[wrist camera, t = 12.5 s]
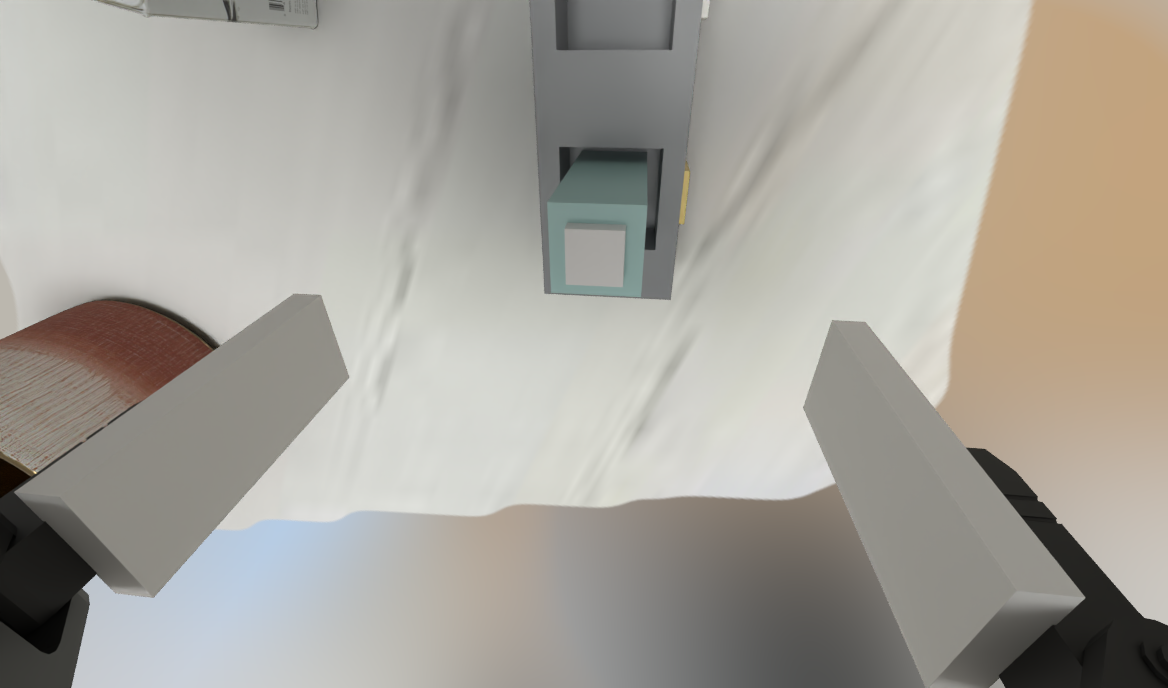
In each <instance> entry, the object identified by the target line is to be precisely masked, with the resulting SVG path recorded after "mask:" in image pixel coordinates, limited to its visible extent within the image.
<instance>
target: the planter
mask: <svg viewBox="0 0 1168 688" xmlns="http://www.w3.org/2000/svg"><path fill="white" fill-rule="evenodd" d="M213 351H214V349H213V348H212V347H211V346H210V345H209V344H207V343H206V342H205V341H204V340H203V339H202V338H200V337H199V336H198V335H196V334H195V333H194V332H192V331H191V330H189V329H188V328H186V327H184V326H183V325H181V324H179V323H178V322H176V321H174V320H173V319H171V318H169V317H167V316H164V315H162V314H160V313H157V312H155V311H152V310H150V309H147V308H144V307H141V306H138V305H134V304H130V303H126V302H120V301H111V300H100V301H92V302H87V303H84V304H81V305H78V306H75V307H73V308H70V309H68V310H65V311H63V312H60V313H58V314H56V315H53V316H51V317H49V318H47V319H45V320H42V321H40V322H38V323H36V324H34V325H31V326H29V327H27V328H25V329H23V330H20V331H18V332H16V333H14V334H12V335H10V336H7V337H5V338H3V339H1V340H0V498H2V497H3V496H5V495H6V494H7V493H9V492H10V491H12V490H13V489H14V488H16V487H17V486H19V485H20V484H22V483H23V482H24V481H26V480H27V479H29V478H30V477H32V476H33V475H34V474H36V473H37V472H39V471H40V470H41V469H43V468H44V467H46V466H47V465H49V464H50V463H51V462H53V461H54V460H56V459H57V458H59V457H60V456H61V455H63V454H64V453H66V452H67V451H68V450H70V449H71V448H73V447H74V446H76V445H77V444H78V443H80V442H85V441H86V438H87V437H88V436H90V435H91V434H93V433H94V432H96V431H97V430H98V429H100V428H101V427H107V425H108V424H107V423H108V422H110V421H111V420H113V419H114V418H115V417H117V416H118V415H120V414H121V413H123V412H124V411H125V410H127V409H128V408H130V407H131V406H133V405H135V404H137V403H139V402H141V401H143V400H145V399H146V398H148V397H149V396H150V395H152V394H153V393H155V392H156V391H157V390H159V389H160V388H162V387H163V386H165V385H166V384H167V383H169V382H170V381H172V380H173V379H174V378H176V377H177V376H179V375H180V374H181V373H183V372H184V371H186V370H187V369H189V368H190V367H191V366H193V365H194V364H196V363H197V362H198V361H200V360H201V359H203V358H204V357H205V356H207V355H208V354H210V353H211V352H213Z"/></svg>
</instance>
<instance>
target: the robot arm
mask: <svg viewBox="0 0 1168 688" xmlns="http://www.w3.org/2000/svg"><path fill="white" fill-rule="evenodd" d="M348 378H349V375H348V372H347V369H346V366H345V363H344V360H343V358H342V355H341V352H340V349H339V346H338V343H337V340H336V337H335V334H334V332H333V329H332V326H331V323H330V320H329V317H328V314H327V311H326V309H325V306H324V303H323V300H322V297H321V295H310V294H293V295H292V296H290V297H289V298H287V299H286V300H285V301H283V302H282V303H280V304H279V305H277V306H276V307H275V308H273V309H272V310H270V311H269V312H268V313H266V314H265V315H263V316H262V317H261V318H259V319H258V320H256V321H255V322H253V323H252V324H251V325H249V326H248V327H246V328H245V329H244V330H242V331H241V332H239V333H238V334H237V335H235V336H234V337H232V338H231V339H229V340H228V341H227V342H225V343H224V344H222V345H221V346H220V347H218V348H217V349H215V350H214V351H213V352H211V353H210V354H208V355H207V356H205V357H204V358H203V359H201V360H200V361H198V362H197V363H196V364H194V365H193V366H191V367H190V368H189V369H187V370H186V371H184V372H183V373H181V374H180V375H179V376H177V377H176V378H174V379H173V380H172V381H170V382H169V383H167V384H166V385H165V386H163V387H162V388H160V389H159V390H157V391H156V392H155V393H153V394H152V395H150V396H149V397H148V398H146V399H145V400H143V401H141V402H139V403H137V404H135V405H133V406H131V407H130V408H128V409H127V410H125V411H124V412H123V413H121V414H120V415H118V416H117V417H115V418H114V419H113V420H111V421H110V422H108V423H107V424H108V425H107V427H101V428H100V429H98V430H97V431H96V432H94V433H93V434H91V435H90V436H88V437H87V438H86V441H85V442H80V443H78V444H77V445H76V446H74V447H73V448H71V449H70V450H68V451H67V452H66V453H64V454H63V455H61V456H60V457H59V458H57V459H56V460H54V461H53V462H51V463H50V464H49V465H47V466H46V467H44V468H43V469H41V470H40V471H39V472H37V473H36V474H34V475H33V476H32V477H30V478H29V479H27V480H26V481H24V482H23V483H22V484H20V485H19V486H17V487H16V488H14V489H13V490H12V491H10V492H9V493H7V494H6V495H5V496H3V497H2V498H0V688H71V686H72V681H73V677H74V672H75V668H76V664H77V659H78V654H79V650H80V646H81V641H82V636H83V632H84V627H85V623H86V618H87V614H88V610H89V605H90V603H89V595H88V594H87V593H86V592H85V591H84V590H83V589H82V588H83V587H84V586H85V585H86V584H87V583H88V582H89V581H90V580H91V579H92V578H93V577H94V576H95V575H96V574H97V575H98V576H99V577H100V578H101V579H102V580H103V581H104V582H105V583H106V584H107V585H108V586H109V587H110V588H111V589H112V590H113V591H114V592H115V593H118V594H127V595H135V596H143V597H151V598H154V597H155V595H156V594H157V593H158V592H159V591H160V590H161V589H162V588H163V587H164V585H165V584H166V583H167V582H168V581H169V580H170V579H171V578H172V576H173V575H174V574H175V573H176V572H177V571H178V570H179V569H180V567H181V566H182V565H183V564H184V563H185V562H186V561H187V559H188V558H189V557H190V556H191V555H192V554H193V553H194V552H195V551H196V549H197V548H198V547H199V546H200V545H201V544H202V542H203V541H204V540H205V539H206V538H207V537H208V536H209V535H210V534H211V533H212V531H213V530H214V529H215V528H216V527H217V526H218V525H219V524H220V522H221V521H222V520H223V519H224V518H225V517H226V516H227V515H228V513H229V512H230V511H231V510H232V509H233V508H234V507H235V506H236V504H237V503H238V502H239V501H240V500H241V499H242V498H243V497H244V495H245V494H246V493H247V492H248V491H249V490H250V489H251V488H252V486H253V485H254V484H255V483H256V482H257V481H258V480H259V479H260V477H261V476H262V475H263V474H264V473H265V472H266V471H267V470H268V468H269V467H270V466H271V465H272V464H273V463H274V462H275V461H276V459H277V458H278V457H279V456H280V455H281V454H282V453H283V452H284V450H285V449H286V448H287V447H288V446H289V445H290V444H291V443H292V441H293V440H294V439H295V438H296V437H297V436H298V435H299V434H300V432H301V431H302V430H303V429H304V428H305V427H306V426H307V425H308V423H309V422H310V421H311V420H312V419H313V418H314V417H315V416H316V414H317V413H318V412H319V411H320V410H321V409H322V408H323V407H324V405H325V404H326V403H327V402H328V401H329V400H330V399H331V398H332V396H333V395H334V394H335V393H336V392H337V391H338V390H339V389H340V387H341V386H342V385H343V384H344V383H345V382H346V381H347V380H348ZM803 408H804V411H805V413H806V415H807V418H808V420H809V422H810V424H811V427H812V429H813V431H814V434H815V436H816V438H817V440H818V443H819V445H820V447H821V450H822V452H823V454H824V456H825V459H826V461H827V463H828V466H829V468H830V470H831V472H832V475H833V477H834V479H835V482H836V484H837V486H838V488H839V491H840V493H841V495H842V498H843V500H844V502H845V504H846V507H847V509H848V511H849V514H850V516H851V518H852V520H853V523H854V525H855V527H856V530H857V532H858V534H859V536H860V539H861V541H862V543H863V546H864V548H865V550H866V552H867V554H868V557H869V559H870V562H871V564H872V566H873V568H874V571H875V573H876V575H877V578H878V580H879V582H880V584H881V587H882V589H883V591H884V594H885V596H886V598H887V600H888V603H889V605H890V607H891V610H892V612H893V614H894V616H895V619H896V621H897V623H898V625H899V628H900V630H901V632H902V635H903V637H904V639H905V641H906V643H907V646H908V648H909V650H910V653H911V655H912V657H913V660H914V662H915V664H916V667H917V669H918V671H919V673H920V676H921V678H922V680H923V683H924V685H925V687H926V688H989V687H990V686H991V685H992V684H993V683H995V682H996V681H997V680H998V679H999V678H1000V679H1001V681H1002V682H1003V684H1004V686H1005V688H1168V625H1165V624H1163V623H1161V622H1158V621H1156V620H1151V619H1146V618H1144V617H1143V616H1142V615H1141V614H1140V613H1139V612H1138V611H1137V610H1136V609H1135V608H1134V607H1133V605H1132V604H1131V603H1130V602H1129V601H1128V600H1127V599H1126V597H1125V596H1124V595H1123V594H1122V593H1121V592H1120V591H1119V589H1118V588H1117V587H1116V586H1115V585H1114V584H1113V583H1112V582H1111V580H1110V579H1109V578H1108V577H1107V576H1106V574H1105V573H1104V572H1103V571H1102V570H1101V569H1100V568H1099V567H1098V565H1097V564H1096V563H1095V562H1094V561H1093V560H1092V558H1091V557H1090V556H1089V555H1088V554H1087V553H1086V552H1085V551H1084V549H1083V548H1082V547H1081V546H1080V545H1079V544H1078V542H1077V541H1076V540H1075V539H1074V538H1073V537H1072V535H1071V534H1070V533H1069V532H1068V531H1067V530H1066V529H1065V527H1064V526H1063V525H1062V524H1058V523H1057V522H1056V519H1057V518H1056V517H1055V516H1054V515H1053V514H1052V513H1051V511H1050V510H1049V509H1048V508H1047V507H1046V506H1045V504H1044V503H1043V502H1039V501H1038V500H1037V497H1038V496H1037V495H1036V494H1035V493H1034V492H1033V491H1032V490H1031V488H1029V486H1028V485H1027V484H1026V483H1025V482H1024V481H1023V479H1022V478H1021V477H1020V476H1019V475H1018V474H1017V472H1016V471H1014V470H1013V469H1012V468H1010V467H1009V466H1008V465H1006V464H1005V463H1003V462H1002V461H1001V460H999V459H998V458H997V457H995V456H994V455H992V454H991V453H990V452H988V451H987V450H986V449H977V448H966V447H965V446H964V445H963V444H962V442H961V441H960V440H959V439H958V438H957V436H956V435H955V434H954V432H953V431H952V430H951V429H950V427H949V426H948V425H947V424H946V422H945V421H944V420H943V419H942V417H941V416H940V415H939V413H938V412H937V411H936V410H935V408H934V407H933V406H932V405H931V403H930V402H929V401H928V400H927V398H926V397H925V396H924V395H923V393H922V392H921V391H920V390H919V388H918V387H917V386H916V385H915V383H914V382H913V381H912V380H911V378H910V377H909V376H908V375H907V373H906V372H905V371H904V370H903V368H902V367H901V366H900V365H899V363H898V362H897V361H896V360H895V358H894V357H893V356H892V355H891V353H890V352H889V351H888V350H887V348H886V347H885V346H884V345H883V343H882V342H881V341H880V340H879V338H878V337H877V336H876V335H875V333H874V332H873V331H872V330H871V328H870V327H869V326H868V325H867V323H866V322H855V321H835V320H832V322H831V325H830V328H829V331H828V334H827V337H826V340H825V343H824V346H823V349H822V352H821V356H820V359H819V362H818V365H817V368H816V371H815V374H814V377H813V380H812V383H811V386H810V389H809V392H808V395H807V398H806V401H805V404H804V407H803Z"/></svg>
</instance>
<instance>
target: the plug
mask: <svg viewBox="0 0 1168 688" xmlns="http://www.w3.org/2000/svg"><path fill="white" fill-rule="evenodd" d="M647 206H648V203H647V152H643V151H589V150H582V151H581V153H580V154H579V156H578V157H577V159H576V160H575V162H574V163H573V165H572V166H571V168H570V169H569V171H568V172H567V174H566V175H565V177H564V178H563V180H562V181H561V183H560V184H559V186H558V187H557V188H556V190H555V191H554V193H553V194H552V196H551V197H550V199H549V200H548V202H547V210H548V233H549V256H550V279H551V293H567V294H588V295H608V296H629V297H641V291H642V276H643V262H644V248H645V234H646V220H647Z"/></svg>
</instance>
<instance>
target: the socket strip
mask: <svg viewBox="0 0 1168 688" xmlns="http://www.w3.org/2000/svg"><path fill="white" fill-rule="evenodd" d="M709 3H710V0H530V19H531V38H532V58H533V77H534V97H535V116H536V135H537V155H538V174H539V194H540V213H541V233H542V252H543V271H544V291H545V294H563V295H583V296H604V297H624V298H644V299H665V300H671V291H672V282H673V273H674V264H675V255H676V245H677V236H678V227H679V224H684V221H685V212H686V203H687V195H688V186H689V177H690V169H689V167H688V164H687V161H686V153H687V144H688V135H689V126H690V116H691V107H692V98H693V89H694V79H695V70H696V61H697V52H698V43H699V33H700V24H701V22H702V21H703V20H705V19H707V18H708V11H709ZM582 150H589V151H643V152H647V203H648V206H647V220H646V234H645V248H644V262H643V276H642V291H641V297H629V296H608V295H588V294H567V293H551V279H550V256H549V233H548V210H547V202H548V200H549V199H550V197H551V196H552V194H553V193H554V191H555V190H556V188H557V187H558V186H559V184H560V183H561V181H562V180H563V178H564V177H565V175H566V174H567V172H568V171H569V169H570V168H571V166H572V165H573V163H574V162H575V160H576V159H577V157H578V156H579V154H580V153H581V151H582Z"/></svg>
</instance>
